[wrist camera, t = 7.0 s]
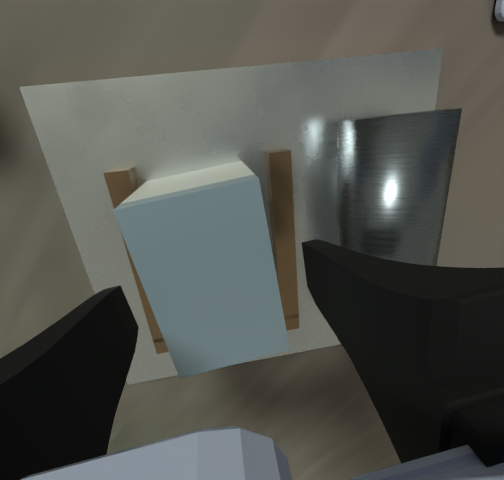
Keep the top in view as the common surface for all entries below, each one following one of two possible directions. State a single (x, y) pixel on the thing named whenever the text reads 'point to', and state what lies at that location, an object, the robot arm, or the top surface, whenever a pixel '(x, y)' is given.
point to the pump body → (206, 266)
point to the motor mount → (258, 166)
